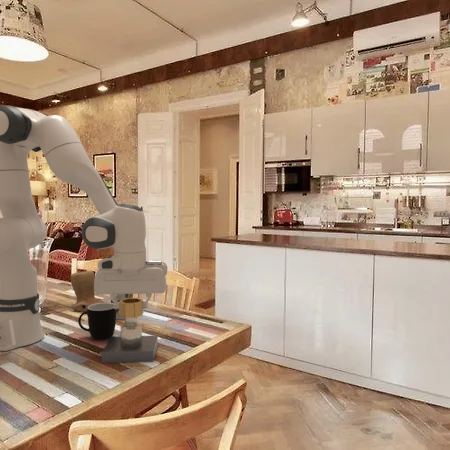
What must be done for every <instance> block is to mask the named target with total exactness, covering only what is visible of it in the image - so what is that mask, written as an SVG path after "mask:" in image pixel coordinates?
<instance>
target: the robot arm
mask: <svg viewBox="0 0 450 450" xmlns="http://www.w3.org/2000/svg"><path fill="white" fill-rule="evenodd" d="M31 151H32V152H35V153H37V152H40V151H41V152H42V154H43V157H44V159H45V161H46V163H47V165H48V167H49V169H50V170H51V173H53V175H54V176H55V177H56V178H58V179H59V180H60V181H62V182H64V183H66V184H69V185H71V186H73V187H76V188H78V189H79V190H81V191H82V192H84V193H85V194H86V195H87V197H89V198H90V200H91V202H92V204H93V205H94V207H95V209H96V211H97V212H98V214H99V215H95V216H92V217H89V218H87V219H86V220H85V221H84V223H83V224H82V228H81V237H82V238H81V239H82V240H83V243H84V244H85V245H86V246H87V247H88V248H90V249H92V250H93V249H94V250H103V249H104V250H105V249H110V248H113V250H114V252H113V253H114V255H111V256H108V257H105V258H102V259H100V260H99V261H98V263H97V269H98V270H97V271H96V273H95V280H94V291H95V294H96V295H110V296H109V298H110V301H111V300H112V301H113V303H114V308H115V309H119V302H118V301H117V299H116V298H115V297H116V296H117V294H133V295H134V294H135V295H137V294H139V295H140V294H145V297H146V298H147V299H146V300H143V303H142V309H143V310H145V309H148V308H149V301H150V300H151V298H152V296H153V295H152V294H164V293H165V292H167V291H166V290H167V288H168V287H167V285H168V284H167V277H166V276H167V274H168V265H167V263H165V262H164V261H162V260H147V247H146V244H145V243H146V242H145V241H146V237H147V228H146V227H147V224H146V217H145V216H146V215H145V213H144V211H143V209H142V207H139V206H138V205H135V204H128V203H127V204H126V203H119V204H118V203H117V201H116V199H115V197H114V196H113V194H112V192H111V191H110V189H109V187H108V185H107V184H106V182H105V180H104V179H103V177H102V176H101V174H100V173H99V172H98V170H97V169H96V167H95V165H94V164H93V162H92V160H91V159H90V157H89V155H88V153H87V151H86V149H85V148H84V145H83V143H82V141H81V139H80V138H79V135H78V134H77V132H76V130H75V129H74V128H73V126H72V125H71V123H70V122H69V121H68V120H67V118H65V117H63V116H61V115H59V114H52V115H49V114H46V113H45V112H44V113H43V112H40V111H36V110H34V109H31V108H23V107H18V106H13V105H0V213H1V216H2V217H0V352H1V351H2V352H3V351H4V352H6V351H7V352H8V351H11V350H14V349H16V348H21V347H25V346H28V345H29V346H30V345H32V344H35V343H37V342H39V341H41V340H43V339H44V337H45V333H44V331H43V327H42V323H41V318H40V313H39V312H40V306H41V303H40V302H41V301H40V294H39V292H38V272H37V268H36V267H35V266H34V265H33V264H32V262H31V258H30V255H29V250H30V249H31V250H32V249H34V248H36V247H37V246H39V245H41V244H42V243H43V242H44V241H45V239H46V238H47V235H48V228H47V224H45V222H44V220H42V219H41V217H40V215H39V212H38V210H37V207H36V205H35V202H34V198H33V194H32V189H31V188H32V187H31V180H30V172H29V165H28V163H29V162H28V155H29V154H30V152H31Z"/></svg>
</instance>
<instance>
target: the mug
mask: <svg viewBox="0 0 450 450" xmlns="http://www.w3.org/2000/svg"><path fill="white" fill-rule="evenodd" d="M85 315H86V316H87V323H88V328H86V327H85V326H83V324H82V322H81V320H82V317H83V316H85ZM77 320H78V321H77V322H78V323H77V324H78V326H79V327H80V329H81V330H83V331H85V332H88V333H89V334H90V337H91V339H92V340H94V341H105V340H109V339H110V338H111V336H114V333H115V330H116V324H117V319H116V309H115V308H114V304H113V303H111V302H101V303H97V304H92V305H90V306H88V308H87V311H86V312H81V314H80V315H79V317H78V319H77Z"/></svg>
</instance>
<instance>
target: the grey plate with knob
mask: <svg viewBox="0 0 450 450" xmlns="http://www.w3.org/2000/svg"><path fill="white" fill-rule="evenodd" d="M124 321H125V323H124V324H122V325H121V326H120V336H119V335H118V336H117V335H115V336H114V335H113V336H111V338H110V339H108V341H107V343H106V344H105V346H104V348H103V350H102V351H101V363H102V364H104V363H105V364H106V363H107V364H109V363H111V364H113V363H114V364H115V363H144V362H146V363H149V362H150V363H151V362H152V363H153V362H154V361H155V357H156V353H157V350H158V345H159V344H158V343H159V341H158V337H159V335H143V328H142V327H143V326H142V324H140V323H138V317H136V318H125V320H124Z"/></svg>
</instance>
